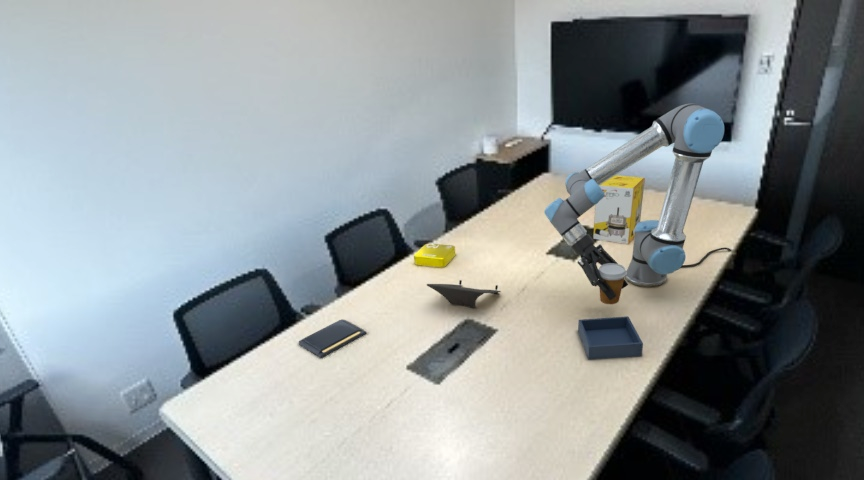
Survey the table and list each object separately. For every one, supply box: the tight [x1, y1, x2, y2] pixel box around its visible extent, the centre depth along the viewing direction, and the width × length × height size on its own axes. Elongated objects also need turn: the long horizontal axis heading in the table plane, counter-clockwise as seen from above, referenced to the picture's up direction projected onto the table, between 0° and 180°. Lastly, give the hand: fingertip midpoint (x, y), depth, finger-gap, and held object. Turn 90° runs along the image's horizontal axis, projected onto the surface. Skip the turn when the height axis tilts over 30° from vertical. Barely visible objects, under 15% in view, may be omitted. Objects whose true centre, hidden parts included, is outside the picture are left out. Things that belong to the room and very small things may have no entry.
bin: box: [577, 316, 644, 361], centre depth 174 cm, size 17×17×5 cm
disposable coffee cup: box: [598, 263, 627, 305], centre depth 183 cm, size 10×10×12 cm
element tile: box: [413, 243, 456, 268], centre depth 240 cm, size 15×15×5 cm
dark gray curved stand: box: [426, 279, 502, 309], centre depth 204 cm, size 23×23×9 cm
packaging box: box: [592, 174, 646, 245], centre depth 242 cm, size 16×16×25 cm
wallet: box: [298, 319, 367, 359], centre depth 190 cm, size 20×2×15 cm
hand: (619, 292), depth 183 cm, fingers closed on disposable coffee cup, 9 cm apart
